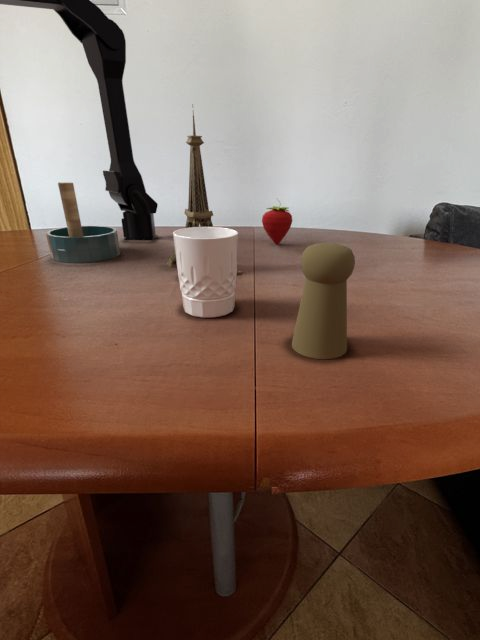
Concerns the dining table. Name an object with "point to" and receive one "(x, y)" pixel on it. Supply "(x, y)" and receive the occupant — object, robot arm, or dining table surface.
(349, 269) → the cork
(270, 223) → the strawberry
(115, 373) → the dining table surface
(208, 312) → the white cup
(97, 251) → the bowl
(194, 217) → the eiffel tower
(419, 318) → the dining table surface
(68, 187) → the stick
